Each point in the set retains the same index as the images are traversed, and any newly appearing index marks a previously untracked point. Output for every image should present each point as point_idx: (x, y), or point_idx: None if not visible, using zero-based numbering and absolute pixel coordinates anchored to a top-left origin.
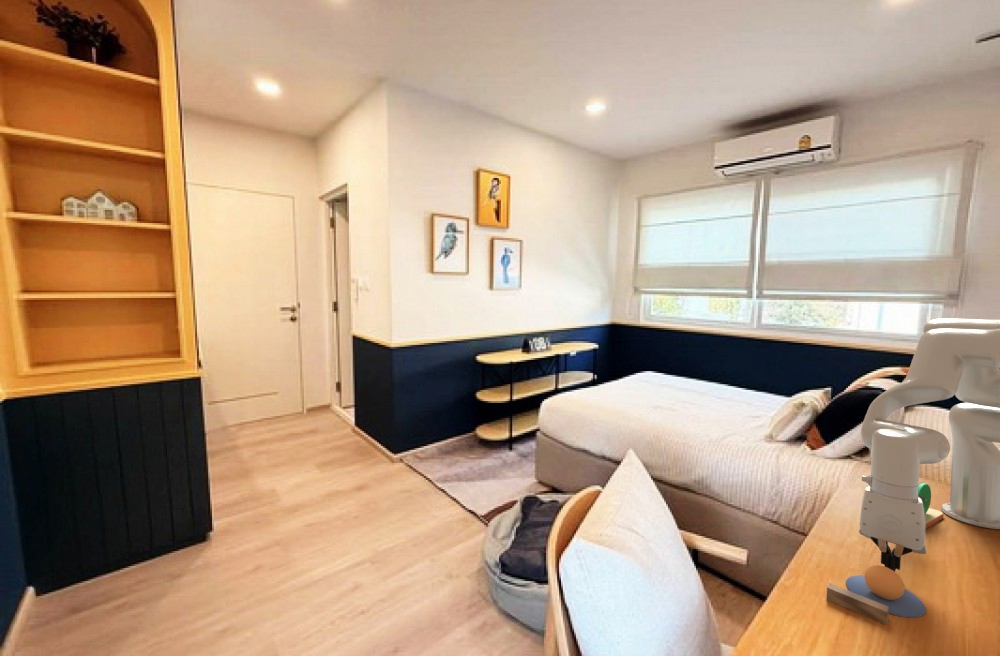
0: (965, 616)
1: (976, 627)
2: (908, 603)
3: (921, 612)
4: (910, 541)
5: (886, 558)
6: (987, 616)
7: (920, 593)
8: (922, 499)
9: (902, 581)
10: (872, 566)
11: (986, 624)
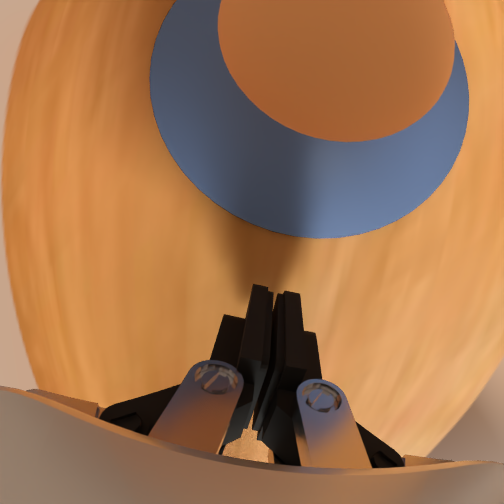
0: (43, 137)
1: (31, 86)
2: (216, 56)
3: (174, 15)
4: (4, 476)
5: (294, 341)
6: (6, 195)
7: (157, 213)
8: None
9: (224, 6)
10: (444, 44)
11: (10, 135)
